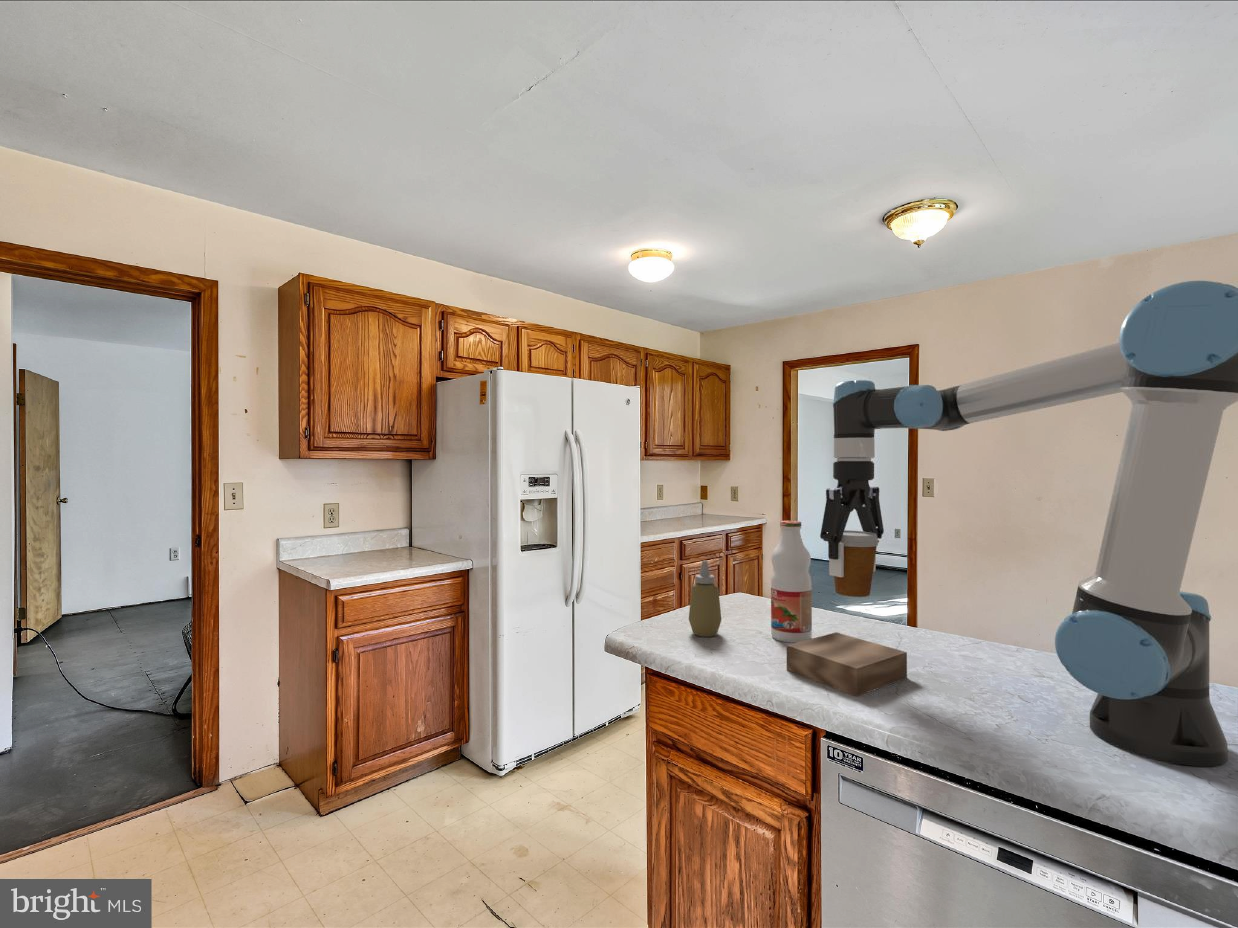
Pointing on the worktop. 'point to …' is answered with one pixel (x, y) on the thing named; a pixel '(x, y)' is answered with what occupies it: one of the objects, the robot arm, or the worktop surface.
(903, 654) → the walnut base
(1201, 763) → the robot arm
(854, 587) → the disposable coffee cup
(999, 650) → the worktop surface
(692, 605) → the squeeze bottle
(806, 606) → the fruit juice
